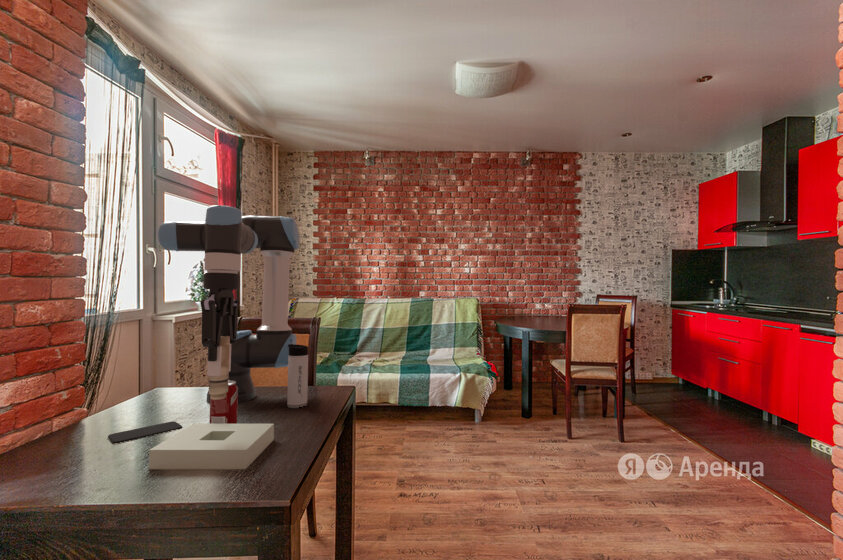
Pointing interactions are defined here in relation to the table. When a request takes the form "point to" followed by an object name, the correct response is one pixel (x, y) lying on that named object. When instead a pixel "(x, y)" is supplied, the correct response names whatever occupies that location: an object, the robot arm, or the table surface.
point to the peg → (220, 383)
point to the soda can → (225, 407)
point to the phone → (143, 432)
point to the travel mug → (297, 376)
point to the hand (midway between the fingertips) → (219, 373)
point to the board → (212, 447)
